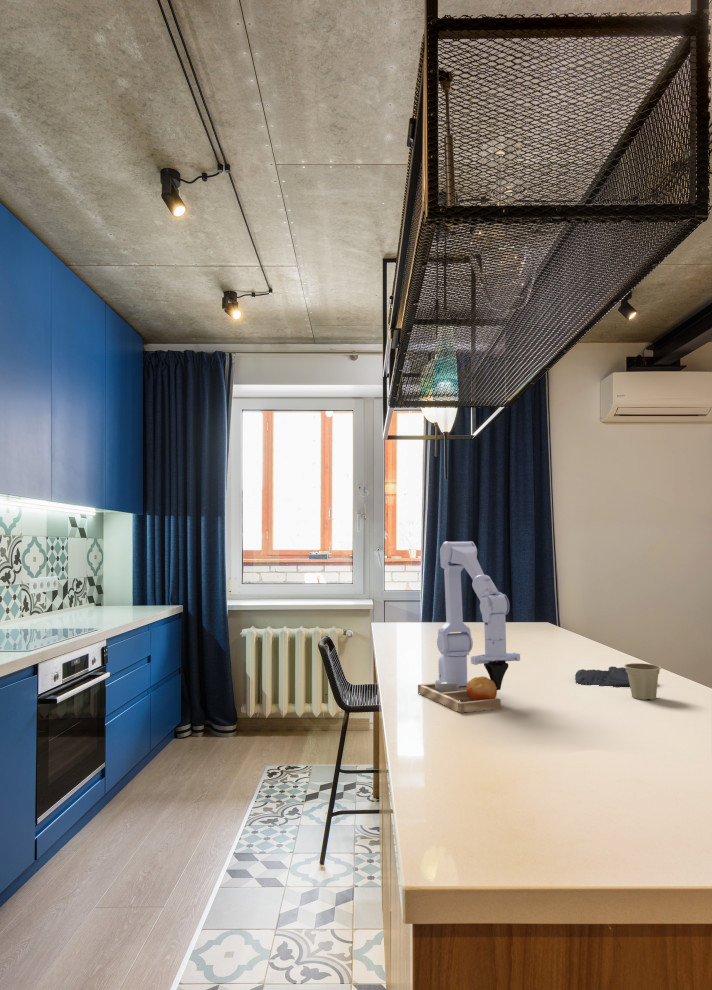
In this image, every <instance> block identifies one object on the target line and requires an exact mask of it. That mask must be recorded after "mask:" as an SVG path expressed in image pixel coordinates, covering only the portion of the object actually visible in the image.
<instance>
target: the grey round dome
mask: <svg viewBox="0 0 712 990" xmlns="http://www.w3.org/2000/svg"><path fill="white" fill-rule="evenodd" d="M437 680H438V681H436V680H435V682H434V683H435V691H438V692H440V693H444V692H454V691H460V690H459V689H460V688H459V687H460V686H459V683H458V682H457V681H454V680H439V679H437Z"/></svg>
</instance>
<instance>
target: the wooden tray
mask: <svg viewBox="0 0 712 990" xmlns="http://www.w3.org/2000/svg"><path fill="white" fill-rule="evenodd" d="M419 693H420V694H419ZM417 694H419V695H421V694H422V695H421V696H423V695H424V696H423V697H425V696H426V697H425V698H427V697H428V698H427V699H429V698H430V699H429V700H431V699H432V700H431V701H433V700H434V702H435V703H438V702H439V703H438V704H440V703H441V704H440V705H442V704H443V705H442V706H444V705H445V706H444V707H446V706H447V707H446V708H448V707H449V709H450V708H451V709H450V710H453V711H455V712H457V711H458V712H457V713H459V712H460V713H459V714H465V713H464V712H468V713H474V712H473V711H476V712H482V711H483V710H485V711H492V710H491V709H493V710H500V709H499V708H501V709H502V706H501V704H502V702H501V701H502V700H501V699H500V698H497V697H496V698H495V699H487V700H478V701H471V700H470V698H469V696H468V694H467V690H466V689H463V690H459V691H454V692H444V693H440V692H438V691H435V682H434V683H421V684H418V685H417ZM459 700H463V701H459ZM483 712H484V711H483Z"/></svg>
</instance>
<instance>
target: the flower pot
mask: <svg viewBox="0 0 712 990" xmlns="http://www.w3.org/2000/svg"><path fill="white" fill-rule="evenodd" d="M623 667H624V668H626V671H627V673H628V677H629V683H630V688H629V689H630V694H631V697H632V698H634V699H636V700H642V701H647V700H651V701H654V700H656V699H657V691H658V681H659V674H660V671H661V670H662V667H661V666H660V665H656V664H652V663H643V662H642V663H641V662H640V663H638V662H636V663H632V662H631V663H626V664H624V665H623Z"/></svg>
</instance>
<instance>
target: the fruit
mask: <svg viewBox="0 0 712 990" xmlns="http://www.w3.org/2000/svg"><path fill="white" fill-rule="evenodd" d="M465 690H467V694H468V696H469V698H470V699H471V700H470V701H478V700H487V699H496V698H497V692H498V690H497V687H496V685H495V683H494V682H493V681H492V680H491V679H490V678H488V677H487V676H484V675H483V676H478V677H477V676H476V677H474V678H471V680H469V681H468V684H467V686H466V689H465Z"/></svg>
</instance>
